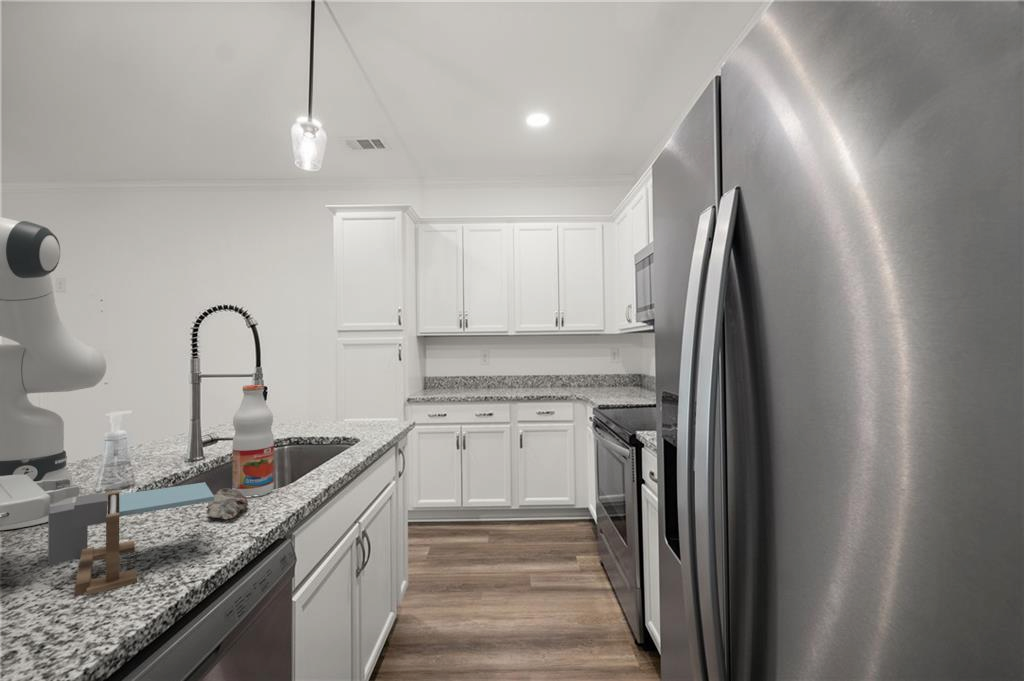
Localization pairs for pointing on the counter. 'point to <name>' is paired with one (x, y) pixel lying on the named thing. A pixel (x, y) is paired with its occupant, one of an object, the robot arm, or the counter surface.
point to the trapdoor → (138, 502)
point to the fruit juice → (253, 445)
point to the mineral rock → (227, 504)
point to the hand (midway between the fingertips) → (73, 486)
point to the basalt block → (64, 535)
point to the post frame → (112, 559)
